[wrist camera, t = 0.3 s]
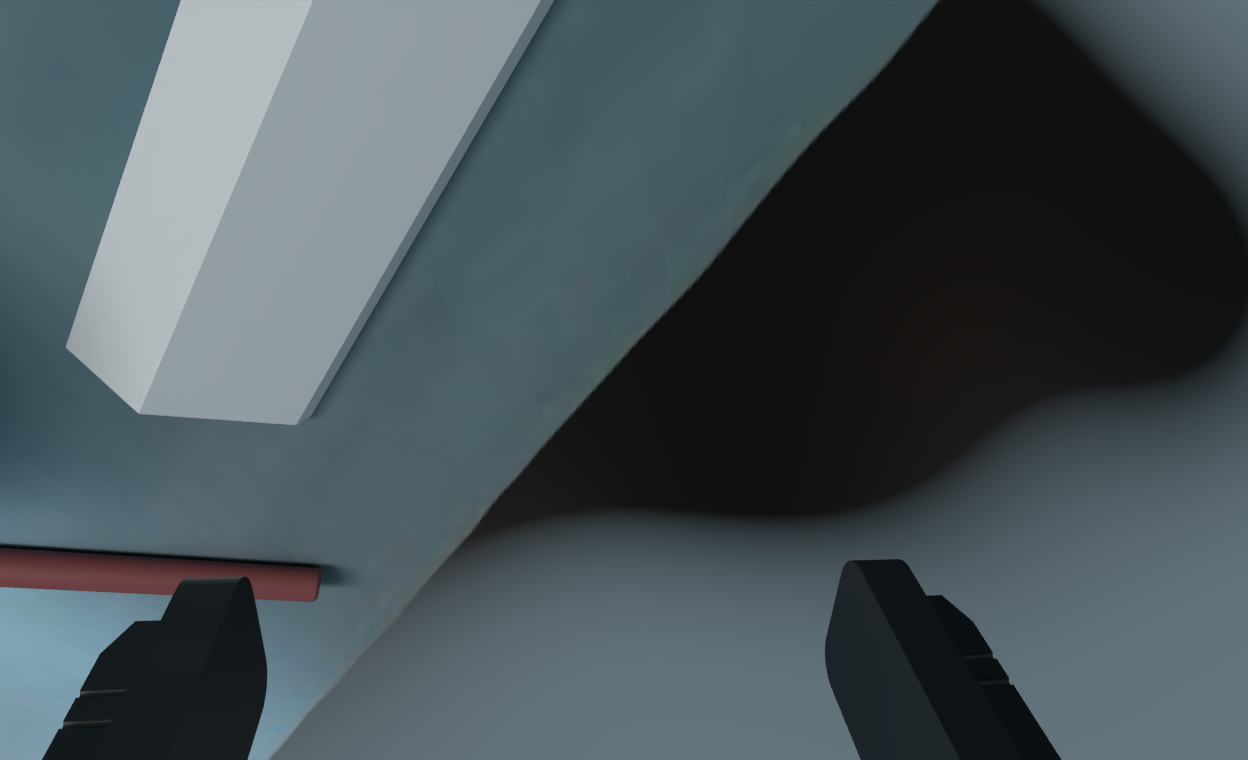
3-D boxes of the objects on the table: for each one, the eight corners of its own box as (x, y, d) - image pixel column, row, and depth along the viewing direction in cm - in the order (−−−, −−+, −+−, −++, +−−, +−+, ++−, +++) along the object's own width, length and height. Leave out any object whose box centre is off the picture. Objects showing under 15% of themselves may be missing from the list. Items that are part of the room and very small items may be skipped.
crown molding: (312, 410, 49) (306, 457, 47) (68, 341, 43) (46, 391, 41) (577, -60, 34) (590, -28, 32) (260, -266, 28) (245, -247, 26)
